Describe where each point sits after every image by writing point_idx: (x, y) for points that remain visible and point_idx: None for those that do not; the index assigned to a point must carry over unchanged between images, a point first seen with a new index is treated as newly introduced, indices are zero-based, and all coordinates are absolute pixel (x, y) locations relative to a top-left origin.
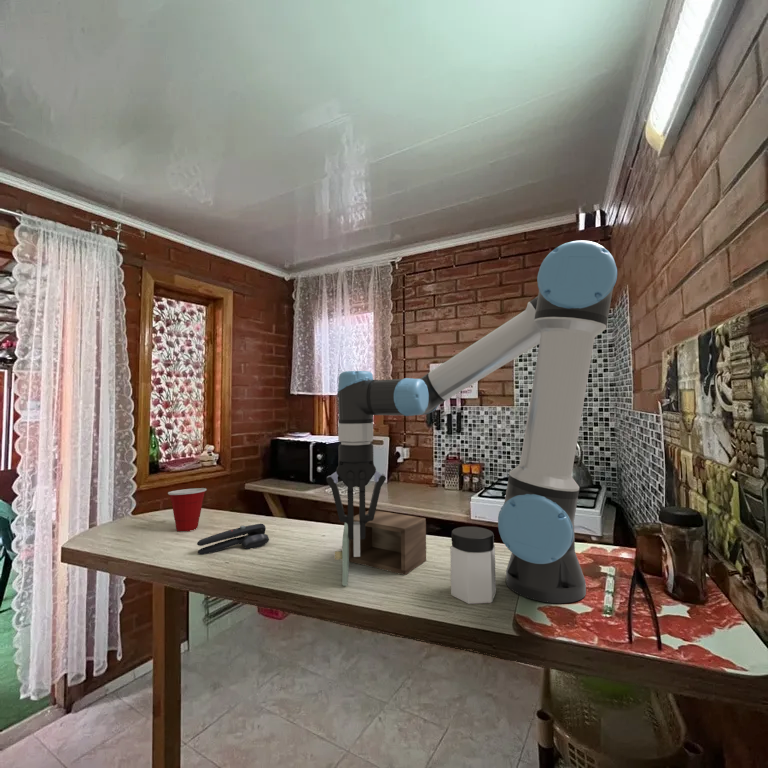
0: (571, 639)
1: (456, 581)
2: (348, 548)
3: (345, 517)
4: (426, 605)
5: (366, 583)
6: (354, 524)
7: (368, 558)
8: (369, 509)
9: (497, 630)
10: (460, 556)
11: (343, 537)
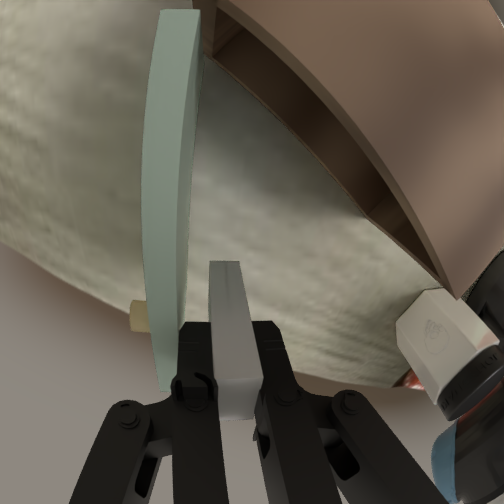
0: (419, 386)
1: (409, 350)
2: (188, 162)
3: (164, 451)
4: (340, 350)
5: (245, 255)
6: (221, 412)
7: (286, 84)
8: (353, 451)
9: (379, 387)
10: (431, 391)
11: (158, 365)
